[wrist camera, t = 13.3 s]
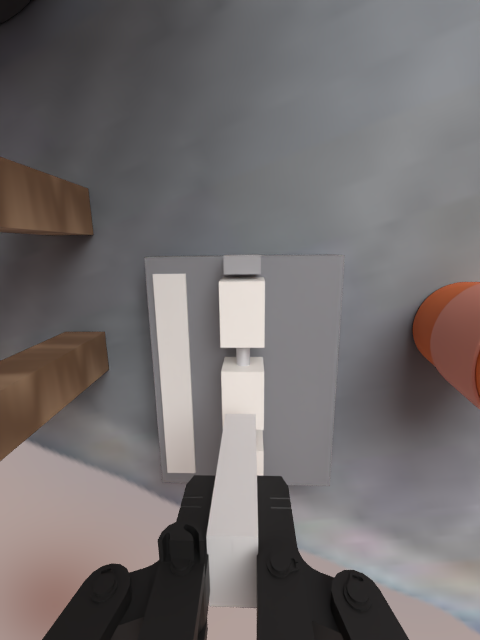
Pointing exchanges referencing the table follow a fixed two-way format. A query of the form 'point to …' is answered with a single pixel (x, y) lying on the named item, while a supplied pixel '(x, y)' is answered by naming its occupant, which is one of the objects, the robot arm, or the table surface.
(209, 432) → the breaker panel
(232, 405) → the breaker paddles
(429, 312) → the cup with straw
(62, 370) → the posts
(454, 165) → the table surface
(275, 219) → the table surface
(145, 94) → the table surface
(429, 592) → the table surface
